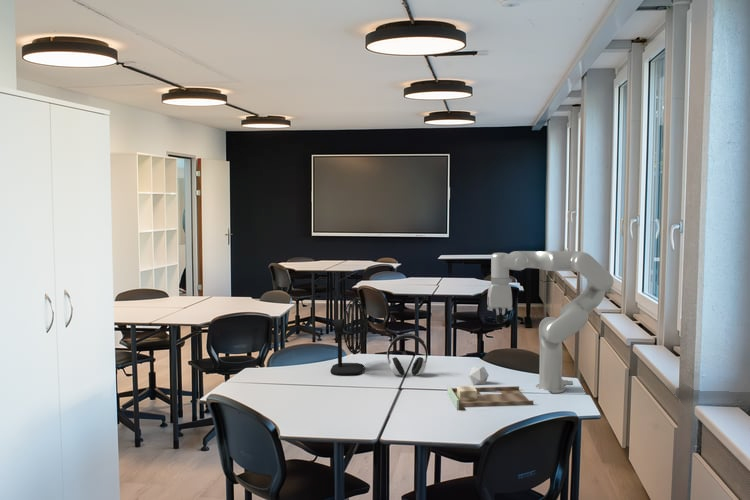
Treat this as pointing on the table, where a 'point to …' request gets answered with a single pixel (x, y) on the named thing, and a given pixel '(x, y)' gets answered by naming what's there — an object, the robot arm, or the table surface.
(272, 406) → the table surface
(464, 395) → the block
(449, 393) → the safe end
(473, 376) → the die
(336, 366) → the desk fan
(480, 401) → the box
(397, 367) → the headphones
